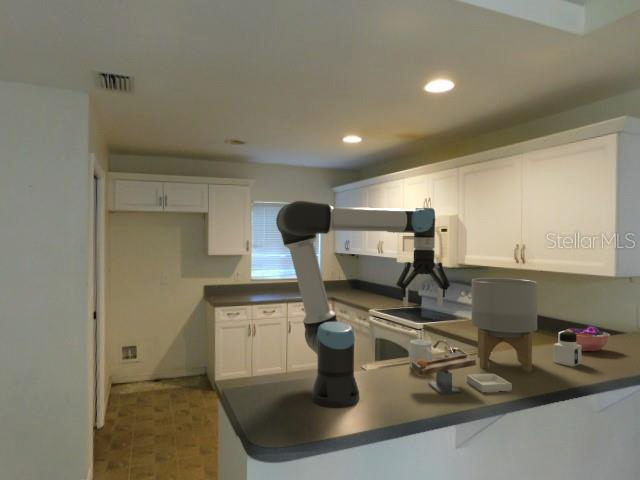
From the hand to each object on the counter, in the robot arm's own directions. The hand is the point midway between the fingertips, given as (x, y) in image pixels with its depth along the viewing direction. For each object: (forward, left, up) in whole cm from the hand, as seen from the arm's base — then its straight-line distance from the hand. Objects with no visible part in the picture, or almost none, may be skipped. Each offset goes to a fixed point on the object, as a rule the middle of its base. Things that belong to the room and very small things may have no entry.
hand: (422, 306), depth 157 cm
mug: (+4, +9, -26) cm, 28 cm away
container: (+67, +9, -26) cm, 72 cm away
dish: (+19, -13, -26) cm, 35 cm away
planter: (+40, +12, -26) cm, 49 cm away
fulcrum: (+2, -13, -26) cm, 30 cm away
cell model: (+91, +27, -27) cm, 98 cm away
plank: (+2, -10, -19) cm, 22 cm away
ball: (-6, -13, -17) cm, 23 cm away
